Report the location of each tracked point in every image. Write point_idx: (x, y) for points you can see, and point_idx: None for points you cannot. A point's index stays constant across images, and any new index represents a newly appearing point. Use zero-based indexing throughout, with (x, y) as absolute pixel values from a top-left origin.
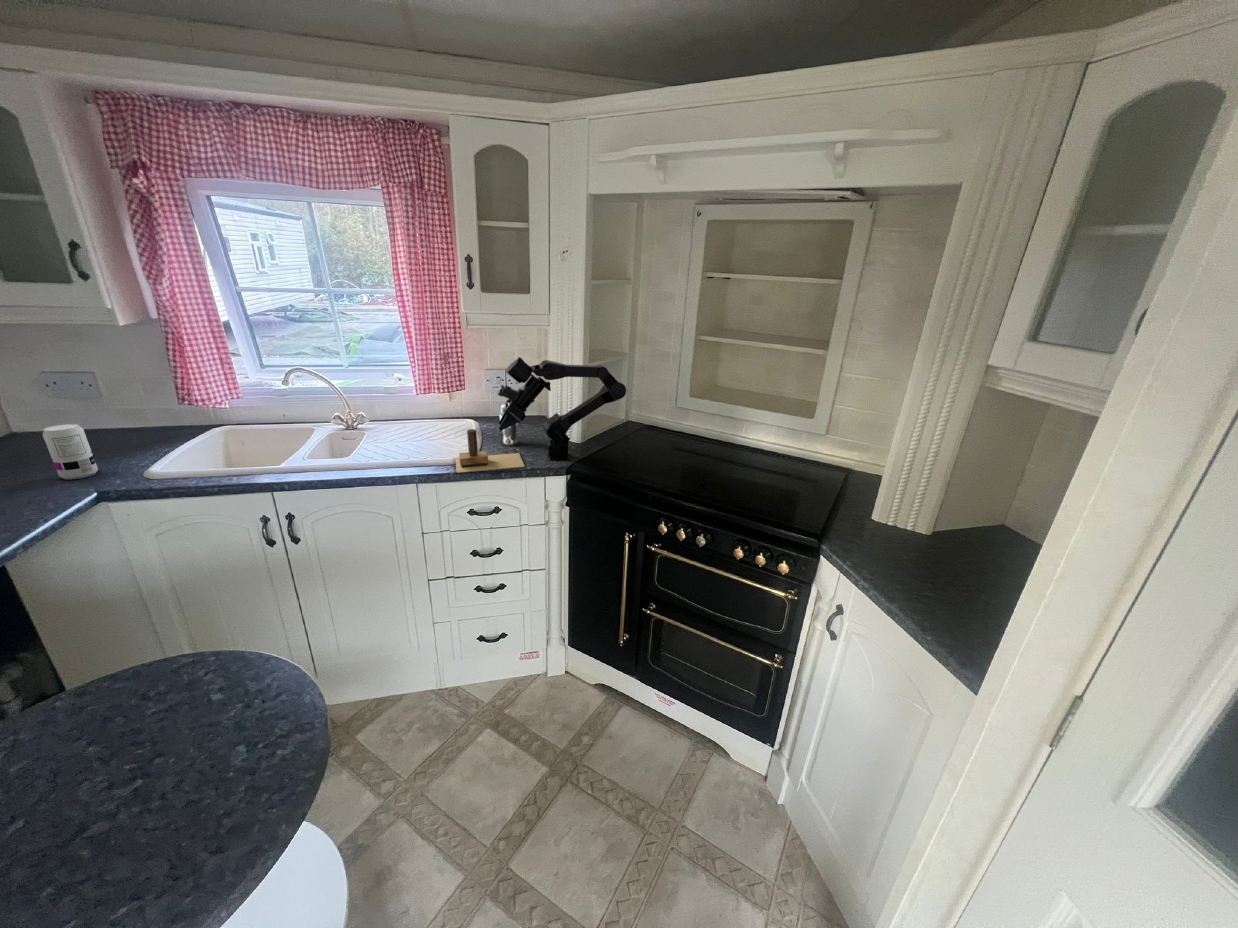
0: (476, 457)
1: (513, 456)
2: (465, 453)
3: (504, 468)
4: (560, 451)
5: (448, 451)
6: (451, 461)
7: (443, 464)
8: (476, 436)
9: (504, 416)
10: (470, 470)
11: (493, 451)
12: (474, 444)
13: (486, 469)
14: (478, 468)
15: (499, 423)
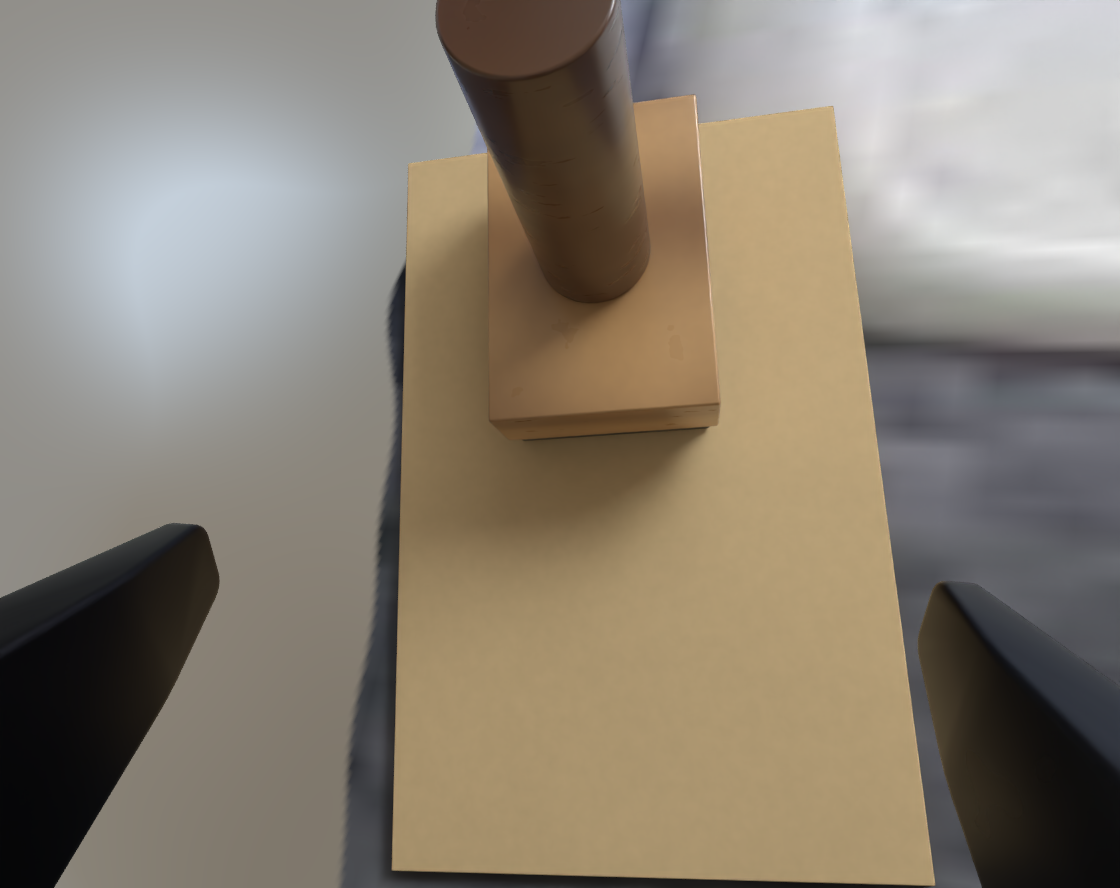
0: (490, 290)
1: (784, 780)
2: (665, 162)
3: (400, 616)
4: None
5: (1113, 13)
6: (751, 86)
7: (674, 30)
8: (524, 155)
9: (1095, 843)
10: (422, 276)
11: (1075, 528)
12: (508, 193)
13: (409, 426)
14: (457, 348)
15: (939, 604)
